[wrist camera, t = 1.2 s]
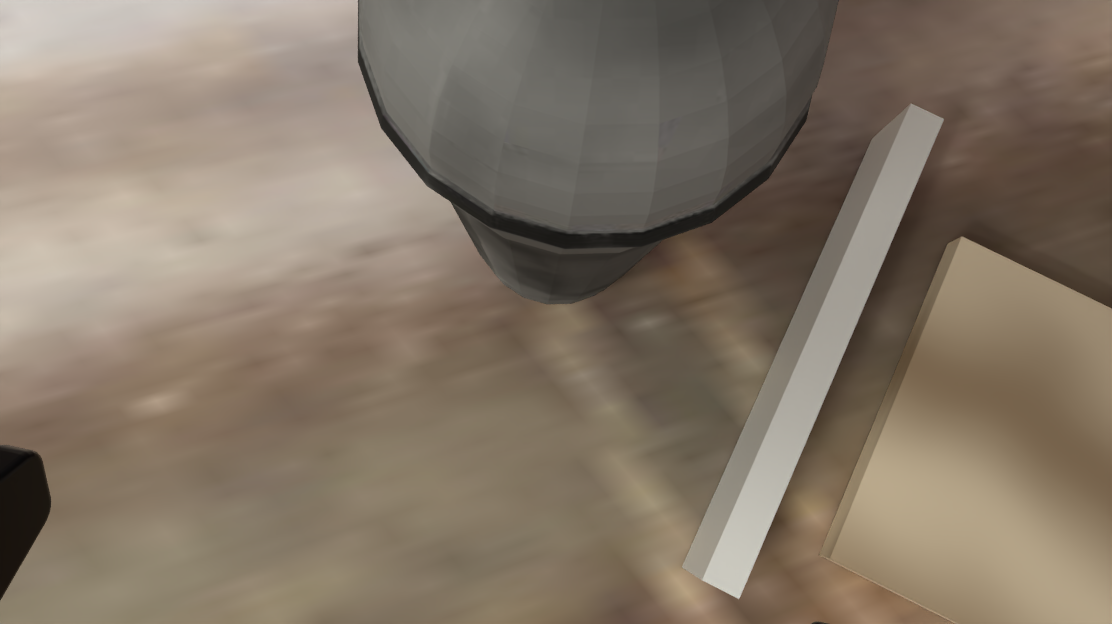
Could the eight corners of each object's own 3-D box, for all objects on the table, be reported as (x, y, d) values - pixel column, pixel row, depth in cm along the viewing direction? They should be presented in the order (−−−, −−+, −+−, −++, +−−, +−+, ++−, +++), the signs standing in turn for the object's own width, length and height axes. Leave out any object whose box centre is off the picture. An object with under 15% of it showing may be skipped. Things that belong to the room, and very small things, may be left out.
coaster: (1152, 722, 22) (1175, 731, 21) (818, 555, 23) (829, 558, 22) (1257, 393, 24) (1282, 390, 23) (947, 243, 24) (961, 236, 24)
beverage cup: (704, 326, 24) (1624, -335, 4) (454, 374, 23) (101, -128, 3) (650, 95, 25) (1150, -1282, 5) (412, 134, 24) (-28, -1248, 5)
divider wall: (714, 583, 22) (739, 598, 20) (681, 567, 22) (701, 580, 20) (901, 152, 25) (943, 119, 22) (871, 138, 25) (910, 103, 22)
